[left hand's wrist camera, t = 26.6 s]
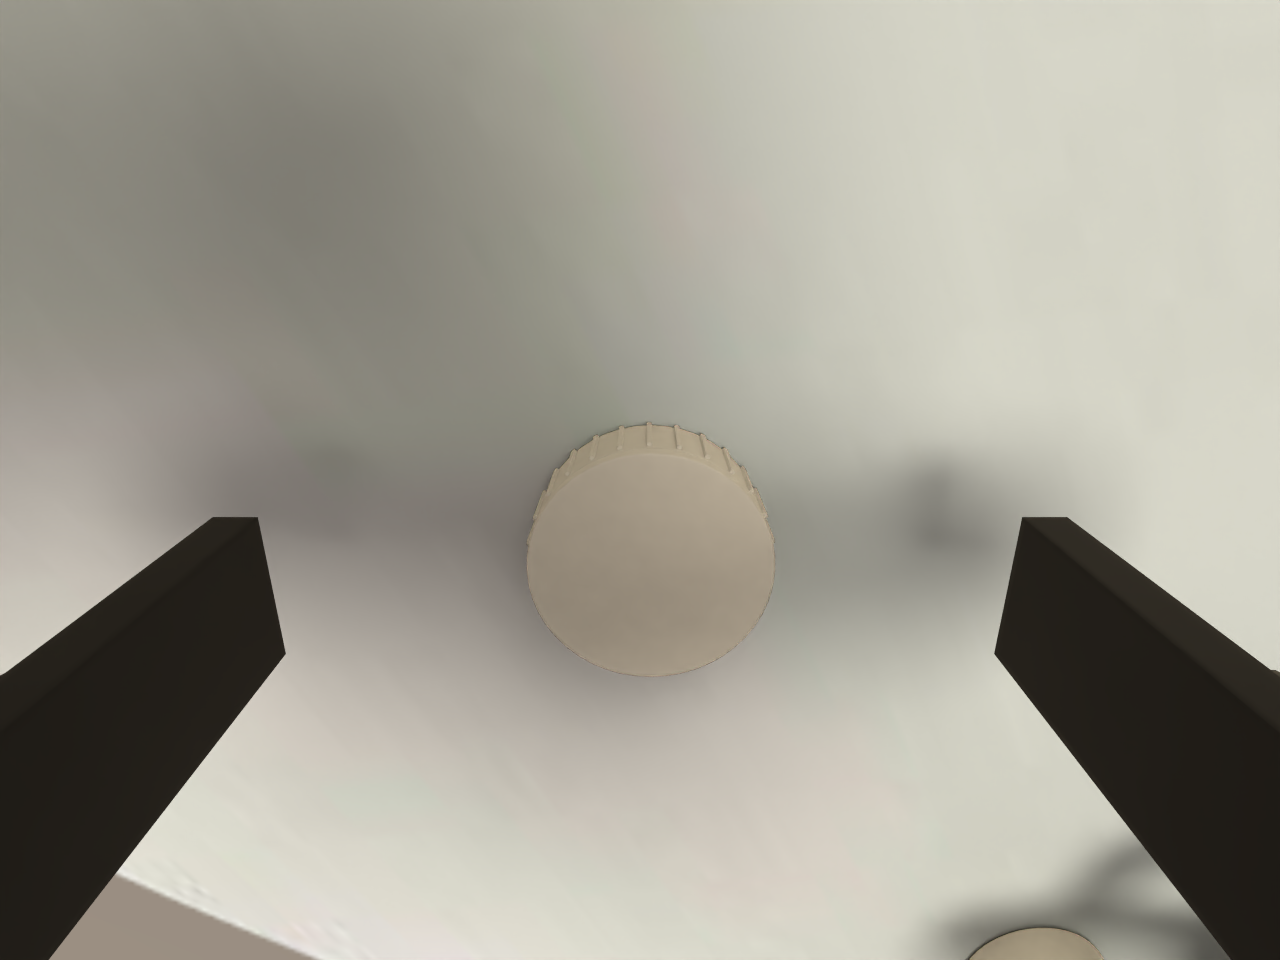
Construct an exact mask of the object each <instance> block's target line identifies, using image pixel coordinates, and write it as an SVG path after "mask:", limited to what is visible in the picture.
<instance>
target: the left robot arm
mask: <svg viewBox="0 0 1280 960" xmlns="http://www.w3.org/2000/svg"><path fill="white" fill-rule="evenodd" d="M285 654H286V653H285V648H284V643H283V638H282V633H281V628H280V624H279V619H278V614H277V609H276V604H275V599H274V594H273V590H272V585H271V580H270V575H269V570H268V565H267V560H266V556H265V551H264V546H263V541H262V536H261V531H260V526H259V521H258V517H213V518H211V519H210V520H209V521H207V522H206V523H205V524H203V525H202V526H201V527H199V528H198V529H197V530H195V531H194V532H193V533H191V534H190V535H189V536H187V537H186V538H185V539H183V540H182V541H181V542H179V543H178V544H177V545H175V546H174V547H173V548H171V549H170V550H169V551H167V552H166V553H165V554H163V555H162V556H161V557H159V558H158V559H157V560H155V561H154V562H153V563H151V564H150V565H149V566H147V567H146V568H145V569H143V570H142V571H141V572H139V573H138V574H137V575H135V576H134V577H133V578H131V579H130V580H129V581H127V582H126V583H125V584H123V585H122V586H121V587H119V588H118V589H117V590H115V591H114V592H113V593H111V594H110V595H109V596H107V597H106V598H105V599H103V600H102V601H101V602H99V603H98V604H97V605H95V606H94V607H93V608H91V609H90V610H89V611H87V612H86V613H85V614H83V615H82V616H81V617H79V618H78V619H77V620H75V621H74V622H73V623H71V624H70V625H69V626H67V627H66V628H65V629H63V630H62V631H61V632H59V633H58V634H57V635H55V636H54V637H53V638H51V639H50V640H49V641H47V642H46V643H45V644H43V645H42V646H41V647H39V648H38V649H37V650H35V651H34V652H33V653H31V654H30V655H29V656H27V657H26V658H25V659H23V660H22V661H21V662H19V663H18V664H17V665H15V666H14V667H13V668H11V669H10V670H9V671H7V672H6V673H4V674H2V675H0V960H49V959H50V957H51V956H52V955H53V953H54V952H55V951H56V950H57V948H58V947H59V946H60V944H61V943H62V942H63V940H64V939H65V938H66V937H67V935H68V934H69V933H70V931H71V930H72V929H73V928H74V926H75V925H76V924H77V922H78V921H79V920H80V918H81V917H82V916H83V915H84V913H85V912H86V911H87V909H88V908H89V907H90V906H91V904H92V903H93V902H94V900H95V899H96V898H97V897H98V895H99V894H100V893H101V891H102V890H103V889H104V888H105V886H106V885H107V884H108V882H109V881H110V880H111V879H112V877H113V876H114V875H115V873H116V872H117V871H118V870H119V868H120V867H121V866H122V864H123V863H124V862H125V861H126V859H127V858H128V857H129V855H130V854H131V853H132V851H133V850H134V849H135V848H136V846H137V845H138V844H139V842H140V841H141V840H142V839H143V837H144V836H145V835H146V833H147V832H148V831H149V830H150V828H151V827H152V826H153V824H154V823H155V822H156V821H157V819H158V818H159V817H160V815H161V814H162V813H163V811H164V810H165V809H166V808H167V806H168V805H169V804H170V802H171V801H172V800H173V799H174V797H175V796H176V795H177V793H178V792H179V791H180V790H181V788H182V787H183V786H184V784H185V783H186V782H187V781H188V779H189V778H190V777H191V775H192V774H193V773H194V771H195V770H196V769H197V768H198V766H199V765H200V764H201V762H202V761H203V760H204V759H205V757H206V756H207V755H208V753H209V752H210V751H211V750H212V748H213V747H214V746H215V744H216V743H217V742H218V741H219V739H220V738H221V737H222V735H223V734H224V733H225V731H226V730H227V729H228V728H229V726H230V725H231V724H232V722H233V721H234V720H235V719H236V717H237V716H238V715H239V713H240V712H241V711H242V710H243V708H244V707H245V706H246V704H247V703H248V702H249V701H250V699H251V698H252V697H253V695H254V694H255V693H256V691H257V690H258V689H259V688H260V686H261V685H262V684H263V682H264V681H265V680H266V679H267V677H268V676H269V675H270V673H271V672H272V671H273V670H274V668H275V667H276V666H277V664H278V663H279V662H280V661H281V659H282V658H283V657H284V655H285ZM994 654H995V655H996V657H997V658H998V659H999V661H1000V662H1001V663H1002V664H1003V666H1004V667H1005V668H1006V670H1007V671H1008V672H1009V673H1010V675H1011V676H1012V677H1013V679H1014V680H1015V681H1016V682H1017V684H1018V685H1019V686H1020V688H1021V689H1022V690H1023V691H1024V693H1025V694H1026V695H1027V697H1028V698H1029V699H1030V701H1031V702H1032V703H1033V704H1034V706H1035V707H1036V708H1037V710H1038V711H1039V712H1040V713H1041V715H1042V716H1043V717H1044V719H1045V720H1046V721H1047V722H1048V724H1049V725H1050V726H1051V728H1052V729H1053V730H1054V731H1055V733H1056V734H1057V735H1058V737H1059V738H1060V739H1061V741H1062V742H1063V743H1064V744H1065V746H1066V747H1067V748H1068V750H1069V751H1070V752H1071V753H1072V755H1073V756H1074V757H1075V759H1076V760H1077V761H1078V762H1079V764H1080V765H1081V766H1082V768H1083V769H1084V770H1085V771H1086V773H1087V774H1088V775H1089V777H1090V778H1091V779H1092V781H1093V782H1094V783H1095V784H1096V786H1097V787H1098V788H1099V790H1100V791H1101V792H1102V793H1103V795H1104V796H1105V797H1106V799H1107V800H1108V801H1109V802H1110V804H1111V805H1112V806H1113V808H1114V809H1115V810H1116V811H1117V813H1118V814H1119V815H1120V817H1121V818H1122V819H1123V821H1124V822H1125V823H1126V824H1127V826H1128V827H1129V828H1130V830H1131V831H1132V832H1133V833H1134V835H1135V836H1136V837H1137V839H1138V840H1139V841H1140V842H1141V844H1142V845H1143V846H1144V848H1145V849H1146V850H1147V851H1148V853H1149V854H1150V855H1151V857H1152V858H1153V859H1154V861H1155V862H1156V863H1157V864H1158V866H1159V867H1160V868H1161V870H1162V871H1163V872H1164V873H1165V875H1166V876H1167V877H1168V879H1169V880H1170V881H1171V882H1172V884H1173V885H1174V886H1175V888H1176V889H1177V890H1178V891H1179V893H1180V894H1181V895H1182V897H1183V898H1184V899H1185V900H1186V902H1187V903H1188V904H1189V906H1190V907H1191V908H1192V910H1193V911H1194V912H1195V913H1196V915H1197V916H1198V917H1199V919H1200V920H1201V921H1202V922H1203V924H1204V925H1205V926H1206V928H1207V929H1208V930H1209V931H1210V933H1211V934H1212V935H1213V937H1214V938H1215V939H1216V940H1217V942H1218V943H1219V944H1220V946H1221V947H1222V948H1223V950H1224V951H1225V952H1226V953H1227V955H1228V956H1229V957H1230V959H1231V960H1280V672H1278V671H1276V670H1270V669H1269V668H1267V667H1266V666H1265V665H1263V664H1262V663H1261V662H1259V661H1258V660H1257V659H1255V658H1254V657H1253V656H1251V655H1250V654H1249V653H1247V652H1246V651H1245V650H1243V649H1242V648H1241V647H1239V646H1238V645H1237V644H1235V643H1234V642H1233V641H1231V640H1230V639H1229V638H1227V637H1226V636H1225V635H1223V634H1222V633H1221V632H1219V631H1218V630H1217V629H1215V628H1214V627H1213V626H1211V625H1210V624H1209V623H1207V622H1206V621H1205V620H1203V619H1202V618H1201V617H1199V616H1198V615H1197V614H1195V613H1194V612H1193V611H1191V610H1190V609H1189V608H1187V607H1186V606H1185V605H1183V604H1182V603H1181V602H1179V601H1178V600H1177V599H1175V598H1174V597H1173V596H1171V595H1170V594H1169V593H1167V592H1166V591H1165V590H1163V589H1162V588H1161V587H1159V586H1158V585H1157V584H1155V583H1154V582H1153V581H1151V580H1150V579H1149V578H1147V577H1146V576H1145V575H1143V574H1142V573H1141V572H1139V571H1138V570H1137V569H1135V568H1134V567H1133V566H1131V565H1130V564H1129V563H1127V562H1126V561H1125V560H1123V559H1122V558H1121V557H1119V556H1118V555H1117V554H1115V553H1114V552H1113V551H1111V550H1110V549H1109V548H1107V547H1106V546H1105V545H1103V544H1102V543H1101V542H1099V541H1098V540H1097V539H1095V538H1094V537H1093V536H1091V535H1090V534H1089V533H1087V532H1086V531H1085V530H1083V529H1082V528H1081V527H1079V526H1078V525H1077V524H1075V523H1074V522H1073V521H1071V520H1070V519H1069V518H1067V517H1022V521H1021V526H1020V531H1019V536H1018V541H1017V546H1016V551H1015V556H1014V560H1013V565H1012V570H1011V575H1010V580H1009V585H1008V590H1007V594H1006V599H1005V604H1004V609H1003V614H1002V619H1001V624H1000V628H999V633H998V638H997V643H996V648H995V653H994Z"/></svg>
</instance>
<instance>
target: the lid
mask: <svg viewBox="0 0 1280 960" xmlns="http://www.w3.org/2000/svg"><path fill="white" fill-rule="evenodd" d="M767 517H768V515H767V512H766V510H765V507H764V505H763V502H762V500H761V498H760V495H759V493H758V490H757V488H754V489H753V486H752V484H751V481H750V479H749V476H748V474H747V471H746V469H745V468H744V466H742V467H741V468H740V467H739V466H738V464H737V463H736V462H735V461H734V460H733V459H732V458H731V457H730V455H729V452H728V450H727V449H726V448H725V447H724V448H723V449H721V448H720V447H718V446H717V445H715V444H713V443H712V442H710V441H709V440H707V439H706V437H705V435H704V434H702V433H701V434H700V436H699V435H697V434H694V433H691V432H688V431H685V430H682V429H680V428H679V426H678V425H674V428H673V427H668V426H657V425H652V423H651V422H650V423H647V425H645V426H633V427H628V428H624V426H619V430H616V431H613V432H609V433H606V434H604V435H602V436H600V437H599V436H598V435H595V436H593V440H592V441H590V442H589V443H587V444H586V445H584V446H583V447H581V448H580V449H579V450H578V451H576V450H575V449H574V450H573V451H571V454H570V457H569V458H568V460H567V461H566V462H565V463H564V464H563V465H562V466H561V467H560V469H557V468H556V469H555V470H554V472H553V475H552V477H551V480H550V483H549V486H548V489H547V491H545V490H543V492H542V495H541V497H540V500H539V503H538V505H537V508H536V511H535V513H534V516H533V519H534V523H533V526H532V528H531V531H530V534H529V537H528V539H527V544H526V545H529V546H528V552H527V577H528V584H529V588H530V592H531V595H532V599H533V601H534V604H535V606H536V608H537V610H538V613H539V614H540V616H541V617H542V619H543V621H544V622H545V624H546V626H547V627H548V628H549V629H550V630H551V632H552V633H553V634H554V635H555V637H556V638H557V639H559V640H560V641H561V642H562V643H563V644H564V645H565V646H566V647H567V648H568V649H570V650H571V651H573V652H574V653H575V654H577V655H578V656H580V657H581V658H583V659H585V660H587V661H588V662H590V663H592V664H595V665H597V666H599V667H602V668H604V669H607V670H610V671H614V672H617V673H621V674H627V675H633V676H645V677H656V676H668V675H675V674H681V673H684V672H688V671H691V670H695V669H697V668H700V667H702V666H705V665H707V664H709V663H711V662H713V661H715V660H717V659H718V658H720V657H722V656H723V655H725V654H726V653H728V652H729V651H730V650H732V649H733V648H734V647H736V646H737V645H738V644H739V643H740V642H741V641H742V640H743V639H744V638H745V637H746V636H747V635H748V634H749V632H750V631H751V630H752V629H753V628H754V626H755V625H756V623H757V622H758V620H759V619H760V617H761V615H762V614H763V612H764V609H765V607H766V605H767V603H768V601H769V598H770V594H771V591H772V588H773V582H774V575H775V553H774V547H773V543H775V540H774V537H773V534H772V532H771V529H770V527H769V524H768V522H767V519H766V518H767Z"/></svg>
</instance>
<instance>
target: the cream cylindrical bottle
mask: <svg viewBox="0 0 1280 960" xmlns="http://www.w3.org/2000/svg"><path fill="white" fill-rule="evenodd" d="M969 960H1104V959H1103V957H1102V955H1101V954H1100V952H1099V951H1098V950H1097V948H1096V947H1095V946H1094V945H1092V944H1091V943H1090V942H1089V941H1088V940H1086V939H1085V938H1083V937H1081V936H1079V935H1077V934H1075V933H1072V932H1069V931H1066V930H1061V929H1056V928H1030V929H1024V930H1019V931H1015V932H1011V933H1008V934H1006V935H1003V936H1000V937H998V938H996V939H994V940H992V941H991V942H989V943H987V944H986V945H984V946H983V947H982V948H980V949H979V950H978V951H977V952H976V953H975V954H974V955H973V956H972V957H971V958H970V959H969Z"/></svg>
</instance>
